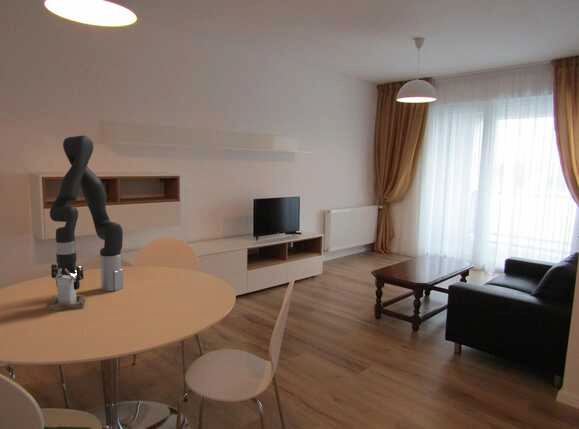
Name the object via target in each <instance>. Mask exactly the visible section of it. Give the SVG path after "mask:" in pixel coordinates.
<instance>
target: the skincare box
mask: <svg viewBox="0 0 579 429" xmlns="http://www.w3.org/2000/svg"><path fill="white" fill-rule="evenodd" d="M56 287H57V288H56V289H57V290H56V291H57V292H56V293H57V297H58V304H67V303H77V301H76V295H77V290H74V280H73V279H72V278H71V277H70V276H67V275H63V276H62V277H60V278H57V285H56Z"/></svg>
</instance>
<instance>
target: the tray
mask: <svg viewBox="0 0 579 429" xmlns="http://www.w3.org/2000/svg"><path fill="white" fill-rule="evenodd" d="M76 301H77V303H67V304H58V296H54V297H53V298H52V300H51V302H50V305H49V309H48V313H54V312H55V313H56V312H64V311H74V310H75V311H76V310H82V309H84V308H85V305H86V304H85V303H86V298H85V294H76Z"/></svg>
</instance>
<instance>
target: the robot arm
mask: <svg viewBox="0 0 579 429" xmlns="http://www.w3.org/2000/svg"><path fill="white" fill-rule="evenodd" d="M62 149H63V151H64V154H65V156H66V158H67V160H68V162H69V163H70V165H71V166H70V168H69V169H68V171H66V174H64V176H63V179H62V180H61V183H60V188H59V192H58V195H57V197H56V198H55V200H54V201H53V204H52V205H51V207H50V209H49V217H50V219H51V220H52V221H53V222H56V223H65V224H64V226H62V227H58V228H57V229H55V256H56V257H55V258H56V263H54V264H53V263H52V264H51V273H50V274H51V279H55V281H56V283H55V284H56V286H57V278H60V277H63V276H67V277H71V278H72V279H73V280H74V290H76V291H77V290H79V289H80V284H81V283H80V281H81V280H84V270H83V269H84V267H83V265H78V266H77V264H76V263H77V247H76V246H77V245H76V238H75V232H76V226H77V221H78V218H79V211H78V208H77V207H76V206H75V205H72V204H71V205H70V203H72V202H73V203H74V202H76V201H77V199H78V195H79V192H80V189H81V192H82V195H83V197H84V199H85V202H86V205H87V207H88V210H89V212H90V214H91V218H92V221H93V225H94V230H95V233H96V235H97V237H98V238H99V239H101V240H102V241H104V245H103V247H102V248H100V251H99V255H100V256H99V259H100V261H99V264H100V266H99V267H100V289H101V291H103V292H117V291H119V290H121V289H123V288H124V269H123V268H122V257H121V256H122V254H121V252H122V248H123V239H124V238H123V236H124V235H123V227H122V225H120V224H119V223H117V222H115V221H114V222H113V221H111V220H110V218H109V215H108V213H107V212H108V211H107V207H106V206H107V193H106V190H105V187H104V185H103V182H102V181H101V178H99V177H98V175H97V174H95V172H93V170H91V169H90V167H88V165H89V163H90V159H91V157H92V154H93V151H94V142H93V140H92V139H91V137H89V136H88V135H76V136H68V137H65V139H64V140H63V142H62ZM68 204H69V205H68Z"/></svg>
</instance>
